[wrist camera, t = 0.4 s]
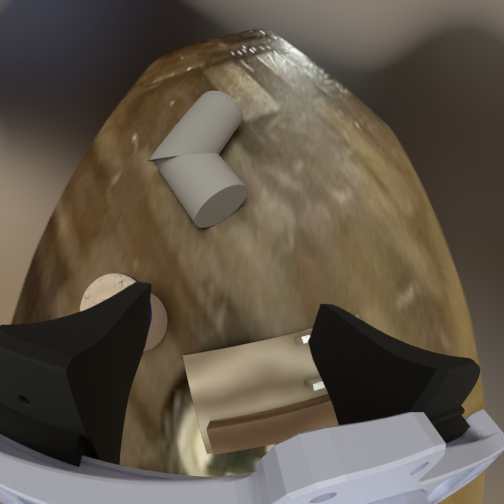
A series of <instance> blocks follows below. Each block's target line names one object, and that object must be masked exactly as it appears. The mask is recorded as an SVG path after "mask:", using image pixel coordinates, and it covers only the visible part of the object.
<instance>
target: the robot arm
mask: <svg viewBox="0 0 504 504" xmlns="http://www.w3.org/2000/svg"><path fill="white" fill-rule="evenodd" d="M150 299H151V284H150V283H143V282H135V283H133V284H131V285H130V286H128V287H126V288H125V289H123V290H122V291H120V292H118V293H117V294H115V295H113V296H112V297H110V298H108V299H106V300H104V301H102V302H100V303H98V304H96V305H95V306H92V307H90V308H88V309H86V310H83V311H80V312H78V313H75V314H72V315H69V316H65V317H61V318H58V319H54V320H50V321H44V322H38V323H31V324H15V325H1V326H0V502H2V503H4V504H437V503H439V502H440V501H442V500H444V499H445V498H447V497H448V496H450V495H451V494H453V493H455V492H456V491H458V490H459V489H461V488H462V487H463V486H465V485H466V484H468V483H469V482H471V481H472V480H474V479H475V478H476V477H477V476H478V475H479V474H480V473H482V472H483V471H484V470H485V469H486V468H487V467H488V466H489V465H490V464H491V463H492V462H493V461H494V460H495V459H496V458H497V457H498V456H499V455H500V454H501V453H502V452H503V451H504V433H503V432H502V431H501V430H500V428H499V427H498V426H497V425H496V424H495V422H494V421H493V420H492V419H491V418H490V417H489V415H488V414H487V413H486V412H485V411H484V410H483V409H482V410H479V411H477V412H475V413H473V414H471V415H469V416H468V417H467V418H466V419H464V418H463V417H462V414H463V413H464V408H463V407H462V406H461V405H462V403H463V402H464V401H465V399H466V398H467V396H468V395H469V393H470V392H471V390H472V389H473V387H474V386H475V384H476V382H477V380H478V378H479V374H480V366H479V365H478V364H477V363H476V362H475V361H474V360H472V359H470V358H463V357H455V356H448V355H443V354H439V353H434V352H431V351H427V350H424V349H421V348H418V347H415V346H412V345H409V344H407V343H404V342H402V341H400V340H397V339H395V338H393V337H391V336H389V335H387V334H385V333H383V332H381V331H379V330H377V329H376V328H374V327H372V326H370V325H369V324H367V323H365V322H364V321H362V320H360V319H359V318H357V317H355V316H354V315H352V314H350V313H349V312H347V311H345V310H343V309H342V308H340V307H337V306H335V305H331V304H321V305H320V308H319V311H318V314H317V317H316V320H315V323H314V326H313V329H312V332H311V335H310V338H309V340H308V343H309V347H310V352H311V355H312V358H313V361H314V364H315V366H316V368H317V370H318V373H319V375H320V377H321V379H322V381H323V384H324V386H325V388H326V390H327V392H328V395H329V397H330V399H331V402H332V404H333V408H334V411H335V414H336V418H337V421H338V425H337V426H329V427H322V428H318V429H314V430H309V431H305V432H300V433H297V434H295V435H293V436H291V437H289V438H287V439H285V440H283V441H281V442H278V443H277V444H276V445H275V446H274V447H273V448H272V449H271V450H270V451H269V452H268V453H267V454H266V455H265V456H264V457H263V458H262V459H261V461H260V463H259V465H258V467H257V469H256V471H255V472H250V473H243V474H236V475H228V476H219V477H200V476H187V475H177V474H168V473H160V472H154V471H147V470H142V469H136V468H131V467H126V466H121V465H119V462H120V451H121V441H122V433H123V426H124V420H125V413H126V408H127V402H128V397H129V393H130V389H131V385H132V382H133V380H134V377H135V374H136V371H137V368H138V365H139V362H140V360H141V357H142V354H143V351H144V348H145V346H146V341H147V337H148V332H149V327H150Z"/></svg>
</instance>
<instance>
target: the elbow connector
mask: <svg viewBox="0 0 504 504" xmlns="http://www.w3.org/2000/svg"><path fill="white" fill-rule="evenodd" d="M242 120H243V112H242V109H241V107H240V106H239V104H238V103H237V102H236V101H235V100H234V99H233V98H232V97H230V96H229V95H227V94H225V93H222V92H219V91H209V92H206V93H204V94H203V95H202V96H201V97H200V98H199V99H198V100H197V102H196V103H195V104H194V105H193V106H192V107H191V108H190V109H189V111H188V112H187V113H186V114H185V115H184V116H183V117H182V119H181V120H180V121H179V122H178V123H177V125H176V126H175V127H174V128H173V129H172V131H171V132H170V133H169V134H168V136H167V137H166V138H165V139H164V141H163V142H162V143H161V144H160V146H159V147H158V148H157V149H156V151H155V152H154V153H153V155H152V156H151V157H150V159H149V160H148V161H154V164H155V165H156V167H157V168H158V170H159V171H160V173H161V174H162V176H163V177H164V179H165V180H166V182H167V183H168V185H169V186H170V188H171V189H172V191H173V192H174V194H175V195H176V197H177V198H178V200H179V201H180V203H181V204H182V206H183V207H184V209H185V210H186V211H187V213H188V214H189V216H190V217H191V219H192V220H193V222H194V223H195V225H196V226H197V227H200V228H207V227H211V226H213V225H216V224H218V223H220V222H221V221H223V220H224V219H226V218H228V217H229V216H230V215H232V214H233V213H234V212H235V211H236V210H237V209H238V208H239V207H240V206H241V204H242V203H243V202H244V200H245V198H246V196H247V187H246V186H245V185H244V184H243V183H242V181H241V180H240V179H239V178H238V177H237V175H236V174H235V173H234V172H233V171H232V170H231V168H230V167H229V166H228V165H227V164H226V163H225V161H224V160H223V159H222V158H221V157H220V155H219V154H220V152H221V151H222V149H223V148H224V146H225V145H226V143H227V142H228V140H229V139H230V137H231V136H232V135H233V133H234V132H235V130H236V129H237V128H238V126H239V125H240V123H241V122H242Z"/></svg>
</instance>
